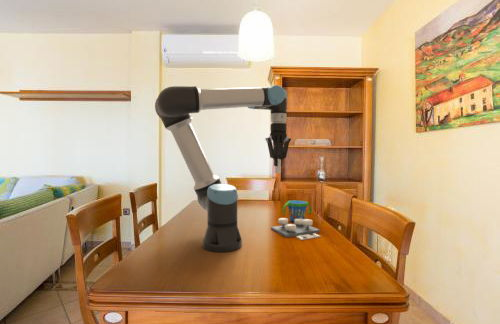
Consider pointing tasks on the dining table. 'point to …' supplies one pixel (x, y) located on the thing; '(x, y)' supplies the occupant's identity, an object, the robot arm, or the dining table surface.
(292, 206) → the snack cup
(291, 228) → the button
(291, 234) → the button board
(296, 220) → the button
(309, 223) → the button
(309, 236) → the pattern tile
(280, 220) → the button
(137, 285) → the dining table surface
